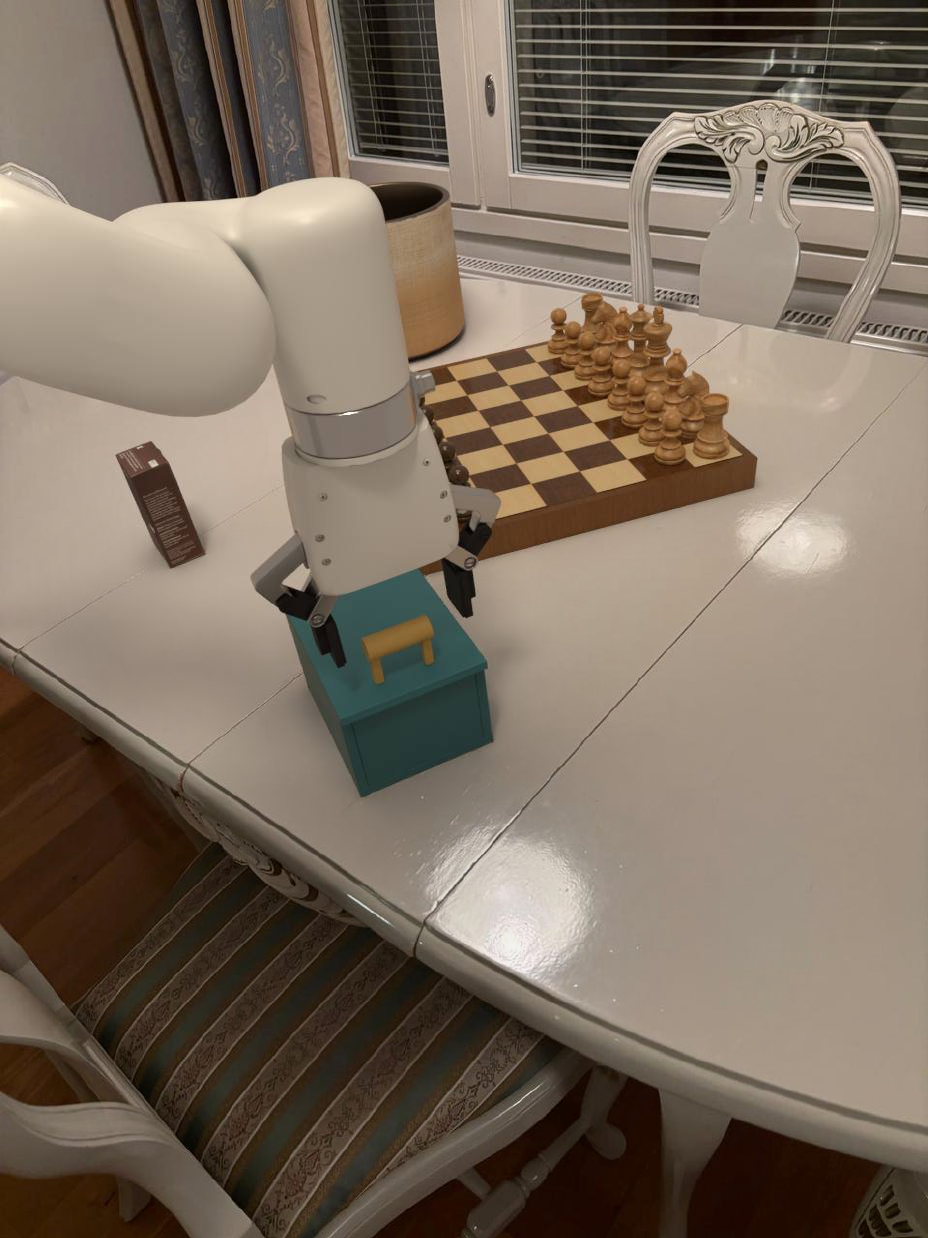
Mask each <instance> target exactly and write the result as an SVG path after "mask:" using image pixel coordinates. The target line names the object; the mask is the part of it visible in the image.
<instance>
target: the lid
mask: <svg viewBox="0 0 928 1238" xmlns="http://www.w3.org/2000/svg"><path fill="white" fill-rule="evenodd" d="M331 615H332V617H333V619H334V620H335V622H336V625H337V628H338V632H339V635H340V639H341V642H342V646H343V650H344V653H345V657H346V661H347V663H345V666H343V667H340V668H337V666H336V664H335V662H334V660H333V658H332V657H331V655H330V653H328V654H325V655H323V656H322V655H321V654H320V652H319V650H318V647H317V645H316V642H315V639H314V636H313V633H312V629H311V626H310V625H309V623H308V621H305V620H302V619H299V618H296V617H293V616H290V615H287V616H288V618H289V620H290V622H291V624H292V626H293V628H294V630H295V632H296V634H297V636H298V638H299V640H300V642H301V644H302V646H303V648H304V650H305V652H306V655H307V657H308V659H309V661H310V663H311V665H312V667H313V669H314V671H315V673H316V675H317V677H318V679H319V681H320V683H321V685H322V687H323V689H324V691H325V693H326V695H327V697H328V699H329V701H330V703H331V705H332V707H333V709H334V711H335V713H336V715H337V717H338V719H339V721H340V723H341V725H342V726H345V725H348V724H350V723H353V722H355V721H358V720H360V719H363V718H365V717H368V716H370V715H373V714H375V713H378V712H380V711H383V710H385V709H388V708H390V707H393V706H395V705H398V704H400V703H403V702H405V701H408V700H410V699H413V698H415V697H418V696H420V695H423V694H425V693H428V692H430V691H433V690H435V689H438V688H440V687H443V686H445V685H448V684H450V683H453V682H455V681H458V680H460V679H463V678H465V677H468V676H470V675H473V674H475V673H478V672H480V671H483V670H484V671H485V670H488V669H489V666H488V660H487V659H486V657H485V656H484V655H483V653H482V652H481V651H480V649H479V647H478V646H477V645H476V643H474V641H473V640H472V639H471V637H470V635H468V632H466V631H465V629H464V628H463V627H462V625H461V624H460V622H459V621H458V620H457V618H456V617H455V616H454V615H453V613H452V612H451V610H450V609H449V608H448V607H447V605H446V604H445V602H444V601H443V599H442V598H441V597H440V596H439V594H438V593H437V592H436V591H435V589H434V587H432V585H431V583H430V582H429V581H428V580H427V579H426V577H425V575H423V574H422V573H421V572H420V570H419V569H418V568H417V569H414V570H412V571H409V572H406V573H404V574H401V575H398V576H396V577H393V578H390V579H387V580H385V581H382V582H379V583H376V584H374V585H371V586H368V587H365V588H362V589H359V590H357V591H354V592H351V593H347V594H343V595H340V596H339V598H338V600H337V602H336V604H335V605H334V607H333V609H332V611H331Z"/></svg>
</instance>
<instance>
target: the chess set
mask: <svg viewBox="0 0 928 1238" xmlns="http://www.w3.org/2000/svg"><path fill="white" fill-rule="evenodd" d="M603 297H604V296H603V295H602V293H601V294H600V293H597V292H592V293H591V292H590V293H586V294H583V295H582V296H581V300H580V304H581V310H582V311H584V321H583V324H582V326H581V324H580V323H579V322H578V321H575V320H571V321H569V322H567V323H566V321H567V317H568V313H567V312H566V310H565V309H564V308H561V307H556V308H554V309H553V310H551V313H550V320H551V322H552V324H551V325H550V328H551V330H553V331H554V334H552V335H551V336H550V339H549V340H546V341H542V342H538V343H533V344H528V345H524V346H520V347H516V348H512V349H507V350H503V351H498V352H494V353H488V354H485V355H481V356H476V357H472V358H468V359H463V360H459V361H454V362H450V363H446V364H441V365H437V366H433V367H427V368H423V369H420V370H416V371H417V372H418V373H420V372H423V371H426V370H429V371H430V372H431V373H432V375H433V378H434V381H435V387H436V389H435V391H434V392H431V393H427V394H425V396H424V397H423V398H420V404H419V408H420V409H421V410H422V412H423V413H424V415H425V416H426V417H427V419H428V422H429V424H430V426H431V429H432V431H433V434H434V437H435V439H436V442H437V445H438V448H439V451H440V454H441V457H442V460H443V463H444V467H445V470H446V474H447V477H448V481H449V484H452V485H460V486H467V487H474V488H482V489H489V490H492V491H493V492H494V493H495V494H496V495H497V496H498V497H499V498H500V500H501V506H500V508H499V511H498V514H497V516H496V519H495V522H494V524H492V526H491V529H492V535H491V537H490V538H489V540H488V541H487V543H486V544H485V545H484V547H483V548H482V550H481V551H480V553H479V554H478V556H477V558H478V562H480V561H483V560H486V559H491V558H494V557H498V556H501V555H505V554H508V553H513V552H517V551H521V550H523V549H524V550H525V549H527V548H532V547H535V546H539V545H542V544H546V543H550V542H555V541H557V540H561V539H565V538H570V537H572V536H577V535H580V534H584V533H588V532H591V531H596V530H599V529H602V528H607V527H611V526H615V525H618V524H621V523H625V522H629V521H633V520H637V519H640V518H643V517H644V518H645V517H648V516H651V515H656V514H659V513H663V512H667V511H670V510H674V509H677V508H681V507H685V506H689V505H693V504H696V503H700V502H701V503H702V502H705V501H708V500H712V499H715V498H718V497H719V498H720V497H722V496H727V495H730V494H734V493H738V492H741V491H745V490H749V489H753V488H755V484H756V483H755V482H756V475H757V474H756V473H757V466H758V458H759V457H758V456H756V455H755V454H754V453H753V452H752V451H750V450H749V448H747V447H746V446H744V445H743V443H741V442H740V441H739V440H738V439H737V438H735V437H734V436H733V435H731V433H729V432H728V431H727V430H726V429H725V428H724V417H725V416H726V415H727V414H728V412H729V408H730V397H729V396H728V395H726V394H723V393H719V392H712V393H710V384H709V382H708V380H707V379H706V378H705V377H704V376H703V375H702V374H700V373H698V372H696V371H694V370H693V369H692V371H691V375H688V376H687V377H686V376H685V373H686V372H687V370H688V361H687V360H686V358H685V357H684V355H683V354H682V353H683V350H682V349H681V348H678V347H677V348H674V349H671V348H670V346H669V344H668V341H669V338H670V336H671V333H672V331H673V325H672V324H671V323H669V322H667V321H665V313H664V307H663V306H661V305H656V306H655V307H654V308H653V309H654V310H653V311H652V313H651V312H649V311H647V310H645V308H646V307H645V304H643V303H639V304H638V305H637V310H636V311H634V312H632V313H631V314H630V313H628V312H627V311H628V307H626V306H620V307H619V308H618V311H617V309H616V308H615V306H613V305H612V304H611V303H609V302H607V301H606V300H604V298H603ZM652 319H653V321H651V320H652ZM631 329H632V330H631ZM629 341H632V342H633V349H632V348H631V347H630V345H629ZM647 342H648V343H647ZM671 353H672V354H671ZM669 355H670V356H669ZM666 357H668V359H667V360H666V362H665V358H666ZM455 510H456V515H457V521H458V528H459V532H460V531H461V530H462V528H463V527H464V525H465V524H466V522H467V521H468V519H469V518H470V517H472V511H468V510H460V509H455ZM418 569H419V570H420V572H421V573H422V574H423V576H426V575H431V574H434V573H437V572H441V571H442V572H443V567H442V561H441V559H440V560H438V561H435V562H432V563H430V564H427V565H425V566H422V567H420V568H418Z"/></svg>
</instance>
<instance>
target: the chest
mask: <svg viewBox="0 0 928 1238" xmlns="http://www.w3.org/2000/svg"><path fill="white" fill-rule="evenodd" d="M285 617H286V620H287V624H288V627H289V630H290V634H291V636H292V640H293V643H294V646H295V650H296V653H297V656H298V660H299V663H300V666H301V669H302V672H303V675H304V678H305V683H306V686H307V687H308V690H309V692H310V693H311V696H312V698H313V700H314V702H315V704H316V706H317V708H318V711H319V712H320V714H321V717H322V719H323V721H324V723H325V725H326V728H327V729H328V731H329V733H330V735H331V738H332V739H333V742H334V744H335V746H336V748H337V750H338V752H339V755H340V756H341V758H342V761H343V763H344V765H345V767H346V768H347V771H348V773H349V775H350V777H351V779H352V782H353V784H354V786H355V789H356V790H357V792H358V794H359V796H360V797H361V798H363V797H366V796H367V795H370V794H372V793H375V792H377V791H379V790H382V789H384V788H387V787H388V786H389V787H390V786H391V785H394V784H396V783H398V782H401V781H403V780H405V779H407V778H410V777H412V776H414V775H417V774H419V773H421V772H424V771H426V770H429V769H431V768H434V767H436V766H438V765H441V764H443V763H445V762H448V761H450V760H452V759H455V758H457V757H460V756H462V755H464V754H467V753H469V752H472V751H473V750H476V749H478V748H481V747H483V746H486V745H488V744H491V743H492V742H494V736H493V727H492V721H491V720H492V719H491V712H490V704H489V697H488V695H489V694H488V687H487V681H486V680H487V679H486V671H485V670H483V671H480V672H478V673H475V674H473V675H470V676H468V677H465V678H463V679H460V680H458V681H455V682H453V683H450V684H448V685H445V686H443V687H440V688H438V689H435V690H433V691H430V692H428V693H425V694H423V695H420V696H418V697H415V698H413V699H410V700H408V701H405V702H403V703H400V704H398V705H395V706H393V707H390V708H388V709H385V710H383V711H380V712H378V713H375V714H373V715H370V716H368V717H365V718H363V719H360V720H358V721H355V722H353V723H350V724H348V725H345V726H342V725H341V723H340V721H339V719H338V717H337V715H336V713H335V711H334V709H333V707H332V705H331V703H330V701H329V699H328V697H327V695H326V693H325V691H324V689H323V687H322V685H321V683H320V681H319V679H318V677H317V675H316V673H315V671H314V669H313V667H312V665H311V663H310V661H309V659H308V657H307V655H306V652H305V650H304V648H303V646H302V644H301V642H300V640H299V638H298V636H297V634H296V632H295V630H294V628H293V626H292V624H291V622H290V620H289V618H288V616H287V614H285Z"/></svg>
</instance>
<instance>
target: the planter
mask: <svg viewBox="0 0 928 1238" xmlns="http://www.w3.org/2000/svg"><path fill="white" fill-rule="evenodd" d="M365 185H366V186H368V187H369V188H370V189H371V190H372V191H373V192H374V193H375V195H376V196H377V198H378V200H379V202H380V204H381V207H382V210H383V214H384V219H385V223H386V229H387V235H388V241H389V247H390V254H391V260H392V266H393V272H394V278H395V284H396V290H397V296H398V302H399V308H400V314H401V320H402V326H403V333H404V339H405V345H406V351H407V357H408V361H411V360H416V359H419V358H423V357H425V356H428V355H431V354H434V353H436V352H437V351H440V350H441V349H443V348H445V347H446V346H448V345H449V344H450V343H451V342H453V341H454V340H455V339H456V338H457V337H458V336H460V333H461V332H462V331H463V329H464V326H465V310H464V302H463V293H462V285H461V278H460V277H461V276H460V268H459V262H458V254H457V246H456V245H457V244H456V237H455V228H454V220H453V219H454V218H453V211H452V203H451V195H450V192H449V190H448V189H446V187H443V186H441V185H438V184H435V183H431V182H424V181H387V182H378V183H370V184H365Z"/></svg>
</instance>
